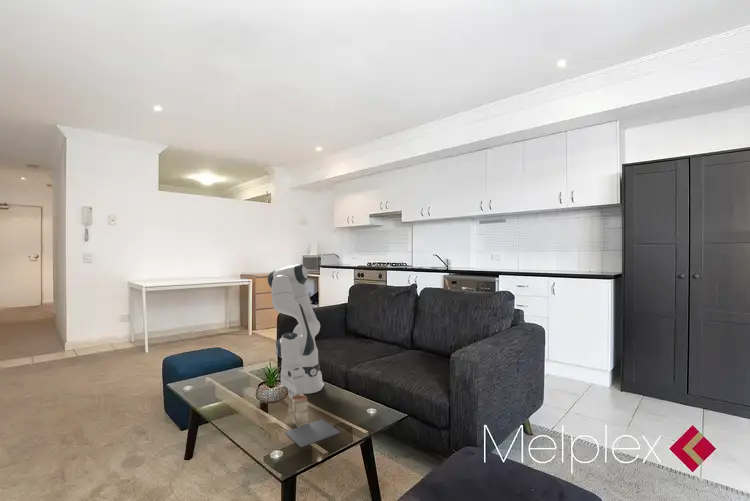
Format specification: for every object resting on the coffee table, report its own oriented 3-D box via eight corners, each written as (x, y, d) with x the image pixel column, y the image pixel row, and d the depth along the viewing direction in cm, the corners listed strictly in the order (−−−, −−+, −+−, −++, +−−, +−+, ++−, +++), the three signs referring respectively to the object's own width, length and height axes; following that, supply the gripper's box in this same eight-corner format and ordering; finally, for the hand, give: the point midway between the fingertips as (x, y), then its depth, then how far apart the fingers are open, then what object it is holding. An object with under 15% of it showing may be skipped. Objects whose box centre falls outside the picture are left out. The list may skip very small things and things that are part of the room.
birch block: (293, 423, 165) (292, 396, 165) (303, 419, 168) (302, 393, 168) (297, 427, 161) (296, 399, 161) (308, 423, 164) (307, 396, 164)
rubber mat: (284, 432, 156) (284, 431, 156) (322, 419, 167) (322, 419, 167) (300, 447, 143) (300, 446, 143) (340, 432, 154) (340, 431, 154)
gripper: (276, 365, 177) (277, 393, 177) (293, 375, 160) (294, 407, 160) (289, 362, 181) (290, 390, 180) (306, 372, 164) (307, 403, 164)
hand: (292, 398), depth 170 cm, fingers closed
